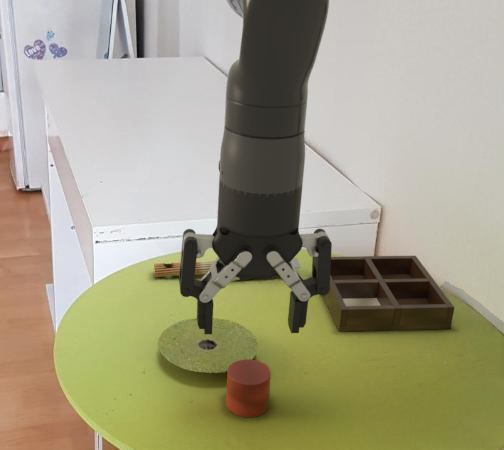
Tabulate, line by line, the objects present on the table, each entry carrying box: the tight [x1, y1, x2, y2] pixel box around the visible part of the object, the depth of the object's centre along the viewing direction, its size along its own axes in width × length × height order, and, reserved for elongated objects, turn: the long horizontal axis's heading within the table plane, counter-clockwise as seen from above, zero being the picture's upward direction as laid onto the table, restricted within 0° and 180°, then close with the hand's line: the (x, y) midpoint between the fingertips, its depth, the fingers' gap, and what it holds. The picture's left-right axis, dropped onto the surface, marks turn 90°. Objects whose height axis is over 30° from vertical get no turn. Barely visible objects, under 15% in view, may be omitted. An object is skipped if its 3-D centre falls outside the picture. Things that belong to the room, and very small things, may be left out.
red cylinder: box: [225, 359, 272, 418], centre depth 77 cm, size 4×4×4 cm
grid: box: [322, 255, 455, 332], centre depth 97 cm, size 14×14×3 cm
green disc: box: [157, 317, 259, 374], centre depth 85 cm, size 11×11×2 cm
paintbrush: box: [153, 257, 302, 282], centre depth 103 cm, size 4×3×20 cm
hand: (250, 329), depth 74 cm, fingers open, 8 cm apart
